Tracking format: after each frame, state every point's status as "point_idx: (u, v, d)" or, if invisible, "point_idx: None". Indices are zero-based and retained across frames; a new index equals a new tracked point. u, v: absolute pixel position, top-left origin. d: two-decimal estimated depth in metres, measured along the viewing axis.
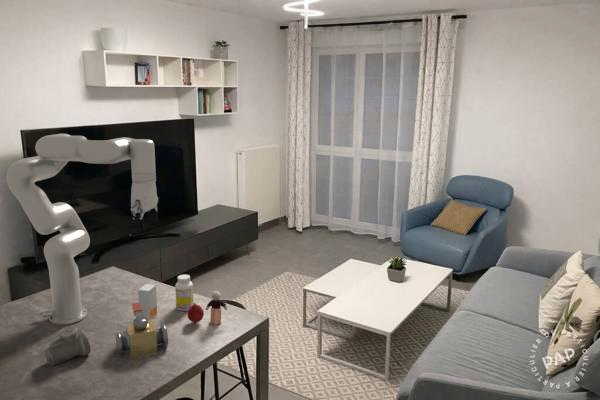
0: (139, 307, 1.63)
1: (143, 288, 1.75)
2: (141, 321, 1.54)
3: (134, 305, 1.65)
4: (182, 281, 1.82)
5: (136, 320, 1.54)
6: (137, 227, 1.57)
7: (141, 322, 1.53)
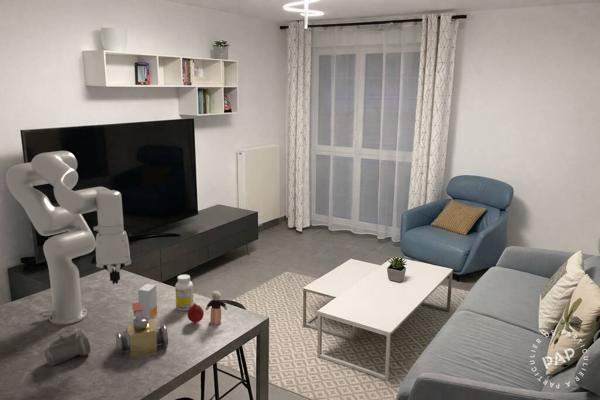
0: (139, 307, 1.63)
1: (143, 288, 1.75)
2: (141, 321, 1.54)
3: (134, 305, 1.65)
4: (182, 281, 1.82)
5: (136, 320, 1.54)
6: (119, 278, 1.59)
7: (141, 322, 1.53)
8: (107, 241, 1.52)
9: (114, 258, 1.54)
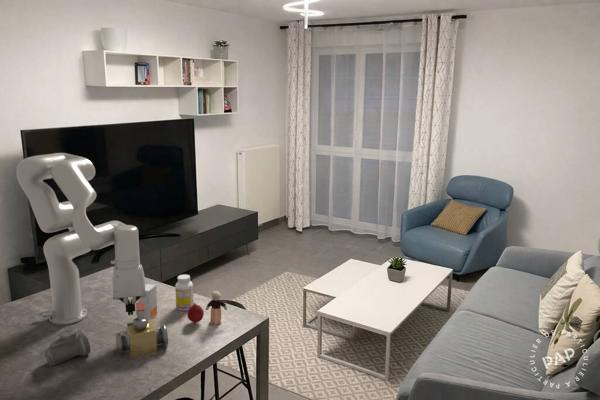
0: (142, 307, 1.64)
1: None
2: (141, 321, 1.54)
3: (138, 304, 1.65)
4: (182, 281, 1.82)
5: (136, 320, 1.54)
6: None
7: (140, 322, 1.53)
8: (124, 275, 1.57)
9: (130, 291, 1.58)
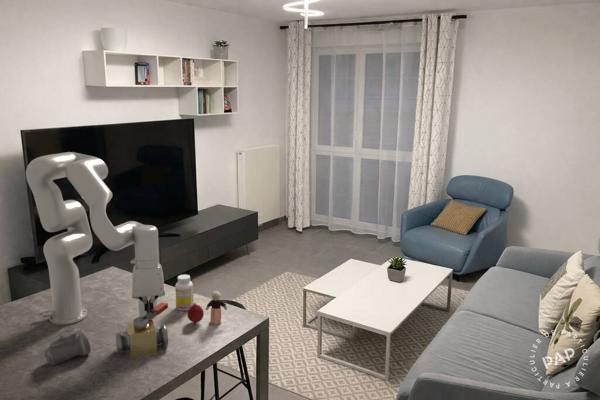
0: (159, 308, 1.63)
1: None
2: (138, 321, 1.54)
3: (159, 304, 1.66)
4: (182, 281, 1.82)
5: (137, 319, 1.55)
6: None
7: (136, 322, 1.53)
8: (143, 274, 1.58)
9: (149, 290, 1.60)
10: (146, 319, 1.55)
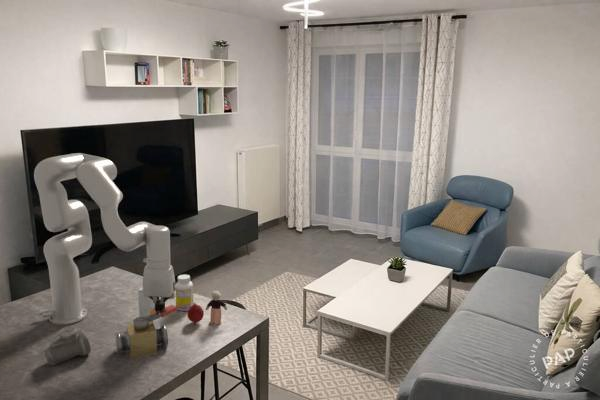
0: (166, 310, 1.62)
1: None
2: (137, 321, 1.54)
3: (168, 307, 1.64)
4: (182, 281, 1.82)
5: (138, 318, 1.55)
6: None
7: (135, 322, 1.53)
8: (152, 274, 1.59)
9: (157, 291, 1.60)
10: (146, 320, 1.54)
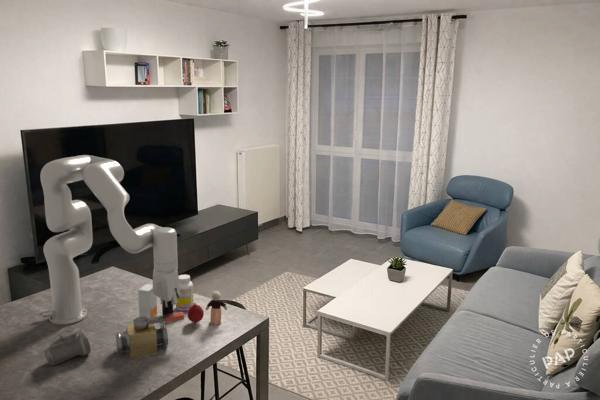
0: (171, 316, 1.58)
1: (143, 288, 1.75)
2: (137, 320, 1.54)
3: (177, 313, 1.60)
4: (182, 281, 1.82)
5: (140, 318, 1.56)
6: (169, 313, 1.62)
7: (134, 320, 1.54)
8: (156, 275, 1.58)
9: (160, 293, 1.59)
10: (144, 321, 1.54)
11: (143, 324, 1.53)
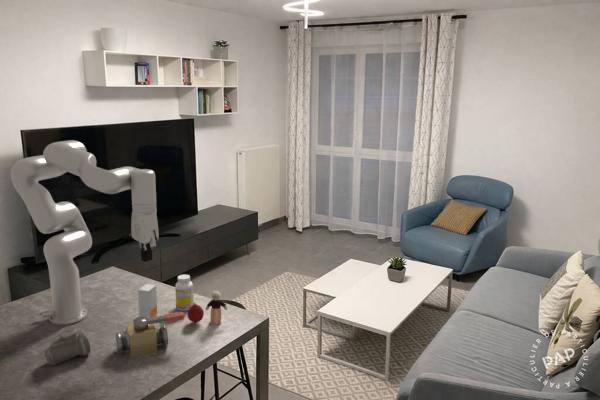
0: (171, 316, 1.58)
1: (143, 288, 1.75)
2: (137, 320, 1.54)
3: (177, 313, 1.60)
4: (182, 281, 1.82)
5: (140, 318, 1.56)
6: (148, 257, 1.60)
7: (134, 320, 1.54)
8: (135, 217, 1.57)
9: (138, 235, 1.57)
10: (144, 321, 1.54)
11: (143, 324, 1.53)
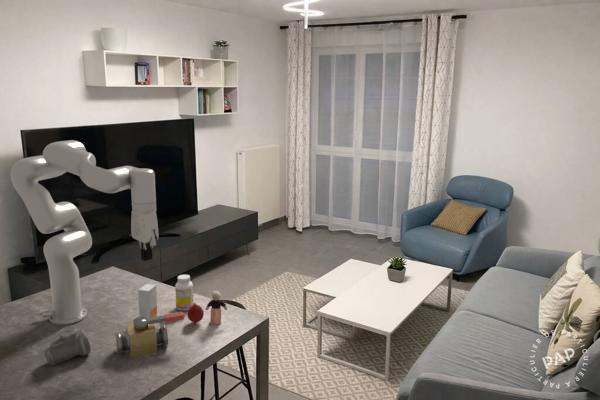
0: (171, 316, 1.58)
1: (143, 288, 1.75)
2: (137, 320, 1.54)
3: (177, 313, 1.60)
4: (182, 281, 1.82)
5: (140, 318, 1.56)
6: (148, 257, 1.60)
7: (134, 320, 1.54)
8: (135, 216, 1.56)
9: (138, 235, 1.57)
10: (144, 321, 1.54)
11: (143, 324, 1.53)
